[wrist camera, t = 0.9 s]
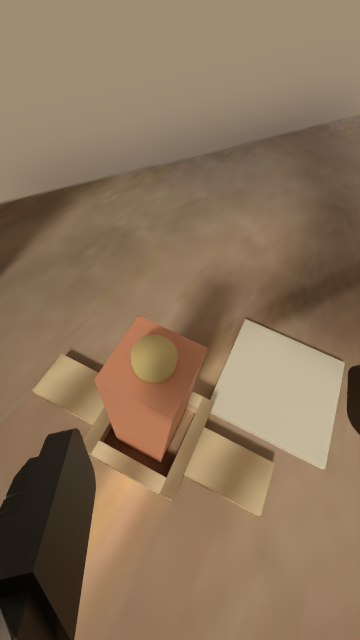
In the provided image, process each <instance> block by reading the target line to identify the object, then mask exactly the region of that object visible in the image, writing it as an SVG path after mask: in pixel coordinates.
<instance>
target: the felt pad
mask: <svg viewBox="0 0 360 640" xmlns="http://www.w3.org/2000/svg"><path fill="white" fill-rule="evenodd" d="M344 366H345V363H344V362H342V361H340V360H338V359H335V358H333V357H331V356H328V355H326V354H324V353H322V352H319V351H317V350H315V349H313V348H310V347H308V346H306V345H304V344H301V343H299V342H297V341H294V340H292V339H290V338H288V337H285V336H283V335H281V334H279V333H276V332H274V331H272V330H269V329H267V328H265V327H263V326H260V325H258V324H256V323H254V322H251V321H249V320H247V319H245V321H244V323H243V325H242V327H241V330H240V332H239V334H238V336H237V339H236V341H235V343H234V346H233V348H232V350H231V352H230V355H229V357H228V359H227V362H226V364H225V366H224V368H223V371H222V373H221V375H220V378H219V380H218V382H217V384H216V387H215V389H214V391H213V394H212V396H211V398H210V400H211V401H213V402H215V403H214V405H213V408H212V410H211V412H210V413H211V414H213V415H215V416H217V417H219V418H221V419H223V420H225V421H227V422H229V423H231V424H233V425H235V426H237V427H239V428H241V429H243V430H245V431H247V432H249V433H251V434H253V435H255V436H257V437H259V438H261V439H262V440H264V441H266V442H268V443H270V444H272V445H274V446H276V447H278V448H280V449H282V450H284V451H286V452H288V453H290V454H292V455H294V456H296V457H298V458H300V459H302V460H304V461H306V462H308V463H310V464H312V465H314V466H316V467H318V468H320V469H325V467H326V462H327V457H328V451H329V446H330V440H331V435H332V430H333V424H334V419H335V414H336V408H337V403H338V398H339V392H340V387H341V382H342V376H343V371H344Z"/></svg>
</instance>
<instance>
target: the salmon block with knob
mask: <svg viewBox="0 0 360 640" xmlns="http://www.w3.org/2000/svg"><path fill="white" fill-rule="evenodd" d="M207 349H208V348H207V347H205V346H203V345H200V344H198V343H196V342H194V341H192V340H190V339H188V338H185V337H183V336H181V335H179V334H177V333H175V332H173V331H170V330H168V329H166V328H164V327H162V326H160V325H158V324H156V323H153V322H151V321H149V320H147V319H145V318H143V317H141V316H138V317H137V318H136V320H135V321H134V323H133V324H132V325H131V327H130V328H129V330H128V331H127V333H126V334H125V336H124V337H123V339H122V340H121V341H120V343H119V344H118V346H117V347H116V349H115V350H114V352H113V353H112V354H111V356H110V357H109V359H108V360H107V362H106V363H105V365H104V366H103V368H102V369H101V370H100V372H99V373H98V375H97V376H96V378H95V379H94V380H95V383H96V385H97V388H98V391H99V393H100V396H101V398H102V401H103V404H104V406H105V409H106V412H107V414H108V417H109V419H110V422H111V425H112V427H113V430H114V432H115V435H116V438H117V440H119V441H120V442H122V443H124V444H126V445H128V446H129V447H131V448H133V449H135V450H137V451H139V452H140V453H142V454H144V455H146V456H148V457H149V458H151V459H153V460H155V461H157V462H159V463H161V461H162V459H163V457H164V455H165V453H166V451H167V449H168V446H169V444H170V442H171V440H172V438H173V436H174V434H175V432H176V430H177V427H178V425H179V423H180V421H181V419H182V417H183V414H184V411H185V408H186V406H187V403H188V400H189V398H190V395H191V392H192V390H193V387H194V384H195V382H196V379H197V376H198V373H199V371H200V368H201V365H202V363H203V360H204V357H205V355H206V352H207Z"/></svg>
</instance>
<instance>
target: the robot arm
mask: <svg viewBox="0 0 360 640" xmlns="http://www.w3.org/2000/svg"><path fill="white" fill-rule="evenodd" d="M347 414H348V418H349V420H350V422H351V424H352V426H353V428H354V429H355V430H356V431H357V432H358V433H359V434H360V365H357V366H353V367H351V368H350V369H349V372H348V391H347ZM95 491H96V481H95V474H94V469H93V466H92V463H91V461H90V458H89V455H88V452H87V450H86V447H85V444H84V441H83V439H82V436H81V433H80V431H79V430H78V429H77V428H75V429H70V430H66V431H61V432H57V433H53V434H49V435H48V436H47V437H46V439H45V442H44V444H43V447H42V450H41V452H40V455H39V457H34V458H30V459H29V460H28V461H27V463H26V464H25V465H24V466H23V467H22V468H21V470H20V471H19V472H18V473H17V474H16V476H15V477H14V479H13V481H12V484H11V486H10V488H9V490H8V492H7V495H6V500H4V501H3V504H2V506H1V508H0V640H74V637H75V630H76V623H77V616H78V610H79V603H80V596H81V589H82V582H83V575H84V568H85V561H86V554H87V547H88V540H89V533H90V526H91V520H92V513H93V506H94V499H95Z"/></svg>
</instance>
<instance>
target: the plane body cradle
mask: <svg viewBox="0 0 360 640" xmlns="http://www.w3.org/2000/svg"><path fill="white" fill-rule="evenodd" d="M97 375H98V372H96V371H94V370H92V369H90V368H88V367H87V366H85V365H83V364H81V363H79V362H77V361H75V360H73V359H71V358H69V357H67V356H65V355H63V354H61V355H60V357H59V358H58V359H57V360H56V362H55V363H54V364H53V366H52V367H51V368H50V369H49V371H48V372H47V373H46V374H45V376H44V377H43V378H42V379H41V381H40V382H39V383H38V384H37V386H36V387H35V388H34V389H33V392H34V393H35V394H36V395H38V396H40V397H42V398H43V399H45V400H47V401H49V402H51V403H53V404H54V405H56V406H58V407H60V408H62V409H63V410H65V411H67V412H69V413H71V414H73V415H74V416H76V417H78V418H80V419H82V420H83V421H85V422H87V423H89V424H91V425H93V426H92V427H91V429H90V430H89V432H88V433H87V435H86V437H85V438H84V440H83V441H84V444H85V447H86V450H87V452H88V454H89V455H91V456H92V457H94V458H96V459H98V460H99V461H101V462H103V463H105V464H106V465H108V466H110V467H112V468H113V469H115V470H117V471H119V472H120V473H122V474H124V475H126V476H128V477H129V478H131V479H133V480H135V481H136V482H138V483H140V484H142V485H143V486H145V487H147V488H149V489H150V490H152V491H154V492H156V493H157V494H159V495H161V496H163V497H164V498H166V499H168V500H170V501H173V499H174V497H175V495H176V492H177V490H178V488H179V485H180V483H181V481H182V478H183V476H185V477H187V478H189V479H191V480H193V481H194V482H196V483H198V484H200V485H202V486H204V487H205V488H207V489H209V490H211V491H213V492H215V493H216V494H218V495H220V496H222V497H224V498H225V499H227V500H229V501H231V502H233V503H235V504H236V505H238V506H240V507H242V508H244V509H245V510H247V511H249V512H251V513H253V514H255V515H256V516H261V512H262V509H263V505H264V502H265V498H266V494H267V491H268V487H269V483H270V480H271V476H272V473H273V469H274V465H275V463H273V462H271V461H269V460H267V459H265V458H263V457H261V456H259V455H258V454H256V453H254V452H252V451H250V450H248V449H246V448H244V447H242V446H240V445H238V444H236V443H234V442H232V441H230V440H228V439H226V438H225V437H223V436H221V435H219V434H217V433H215V432H213V431H211V430H209V429H207V428H205V427H204V426H205V424H206V422H207V419H208V417H209V415H210V412H211V410H212V408H213V405H214V403H215V402H213V401H211V400H209V399H207V398H205V397H203V396H201V395H199V394H197V393H195V392H193V391H192V392H191V395H190V398H189V400H188V403H187V406H186V408H185V409H187V410H189V411H191V412H193V413H195V416H194V418H193V420H192V422H191V424H190V427H189V429H188V431H187V433H186V435H185V438H184V440H183V442H182V444H181V446H180V449H179V451H178V453H177V455H176V457H175V460H174V462H173V464H172V466H171V469H170V471H169V473H168V475H167V477H164V476H162V475H160V474H159V473H157V472H155V471H153V470H151V469H150V468H148V467H146V466H144V465H142V464H141V463H139V462H137V461H135V460H133V459H132V458H130V457H128V456H126V455H124V454H123V453H121V452H119V451H117V450H116V449H114V448H112V447H110V446H108V445H107V444H105V443H103V442H104V441H105V439H106V437H107V436H108V434H109V432H110V430H111V429H112V425H111V422H110V419H109V417H108V414H107V412H106V409H105V406H104V404H103V401H102V398H101V396H100V393H99V391H98V388H97V385H96V383H95V380H94V379H95V378H96V376H97Z"/></svg>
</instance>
